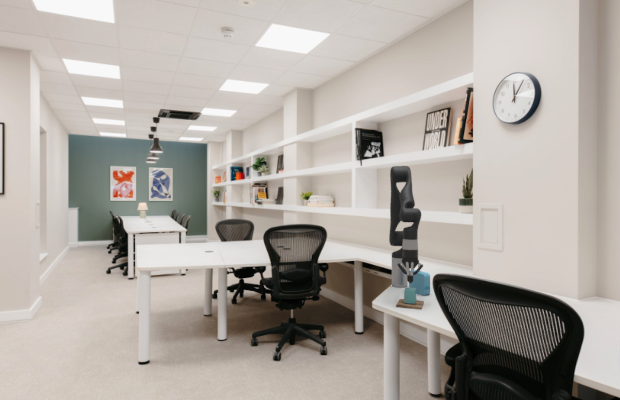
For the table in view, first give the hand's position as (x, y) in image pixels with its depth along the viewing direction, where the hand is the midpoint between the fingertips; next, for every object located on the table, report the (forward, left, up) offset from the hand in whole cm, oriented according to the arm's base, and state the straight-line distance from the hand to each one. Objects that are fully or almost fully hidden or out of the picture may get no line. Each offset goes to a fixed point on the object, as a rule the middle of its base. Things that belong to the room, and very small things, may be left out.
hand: (410, 282), depth 189 cm
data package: (-25, +2, -12) cm, 28 cm away
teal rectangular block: (0, 0, -10) cm, 10 cm away
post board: (0, 0, -11) cm, 11 cm away
